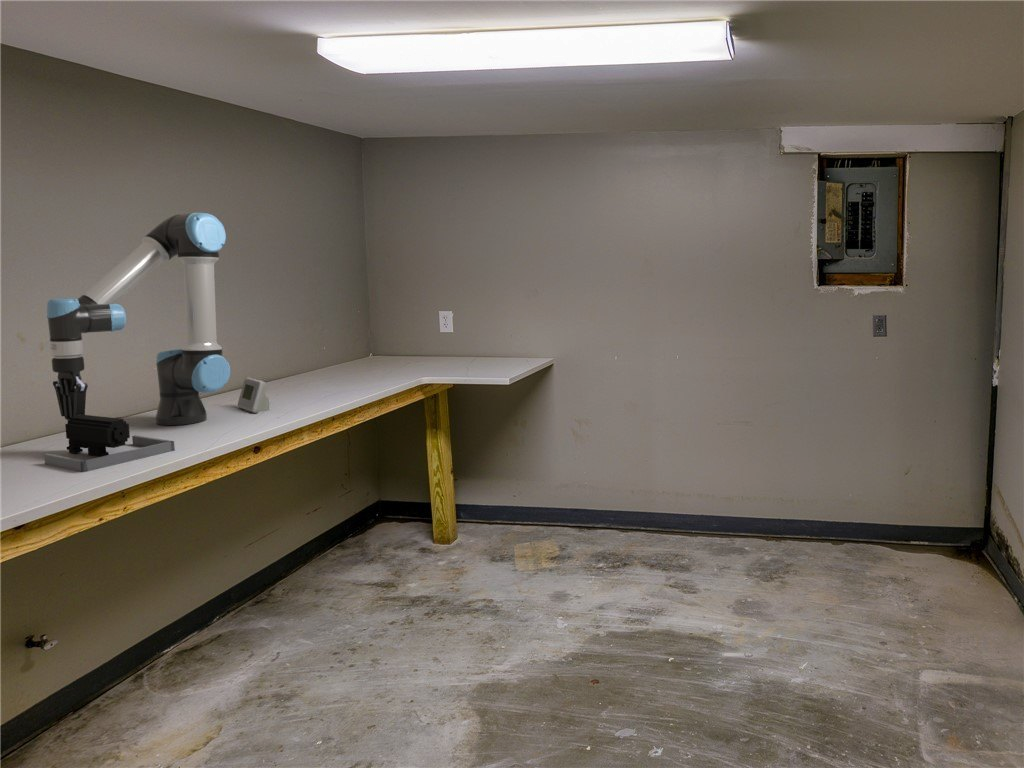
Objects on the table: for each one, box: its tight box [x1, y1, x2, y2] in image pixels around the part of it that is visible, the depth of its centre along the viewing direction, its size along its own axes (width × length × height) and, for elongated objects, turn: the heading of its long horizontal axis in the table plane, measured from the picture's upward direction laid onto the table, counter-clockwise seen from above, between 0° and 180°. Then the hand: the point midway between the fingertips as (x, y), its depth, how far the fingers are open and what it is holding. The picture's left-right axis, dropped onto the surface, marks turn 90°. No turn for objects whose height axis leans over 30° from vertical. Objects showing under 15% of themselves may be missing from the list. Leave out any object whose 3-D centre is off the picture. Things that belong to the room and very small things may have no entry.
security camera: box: [64, 414, 131, 457], centre depth 213 cm, size 7×18×10 cm, turn 69°
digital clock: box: [237, 377, 270, 414], centre depth 274 cm, size 16×9×11 cm, turn 26°
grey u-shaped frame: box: [43, 434, 176, 473], centre depth 211 cm, size 25×17×2 cm
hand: (75, 442), depth 218 cm, fingers closed
